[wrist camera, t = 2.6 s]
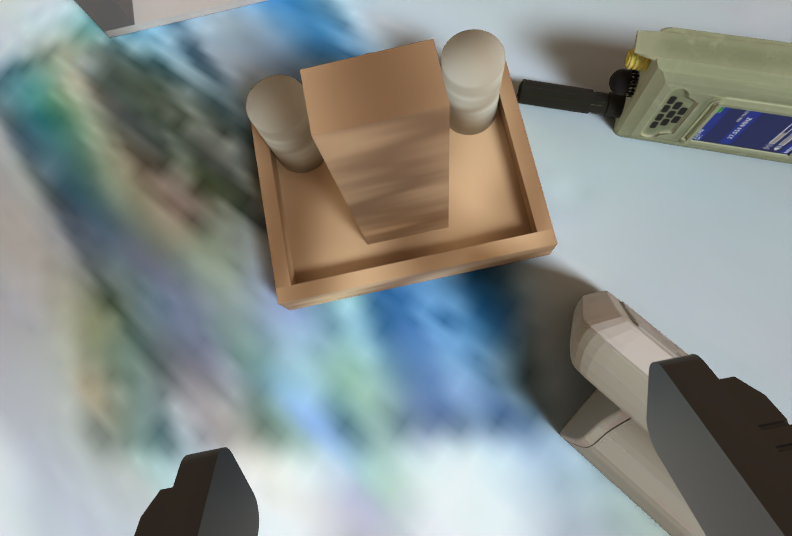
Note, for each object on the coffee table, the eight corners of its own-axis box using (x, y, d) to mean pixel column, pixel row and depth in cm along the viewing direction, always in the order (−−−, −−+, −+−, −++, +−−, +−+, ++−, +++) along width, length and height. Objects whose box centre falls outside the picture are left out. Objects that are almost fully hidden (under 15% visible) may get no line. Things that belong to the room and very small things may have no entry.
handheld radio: (996, 207, 28) (510, 130, 32) (993, 150, 29) (519, 80, 32) (1158, 146, 22) (527, 56, 25) (1149, 74, 23) (539, -3, 26)
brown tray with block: (290, 310, 30) (165, 242, 17) (262, 129, 33) (135, -56, 20) (548, 255, 30) (633, 138, 16) (499, 75, 33) (536, -154, 19)
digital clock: (874, 528, 26) (1164, 619, 15) (722, 650, 25) (918, 830, 15) (635, 256, 29) (738, 180, 19) (499, 356, 29) (529, 335, 18)
